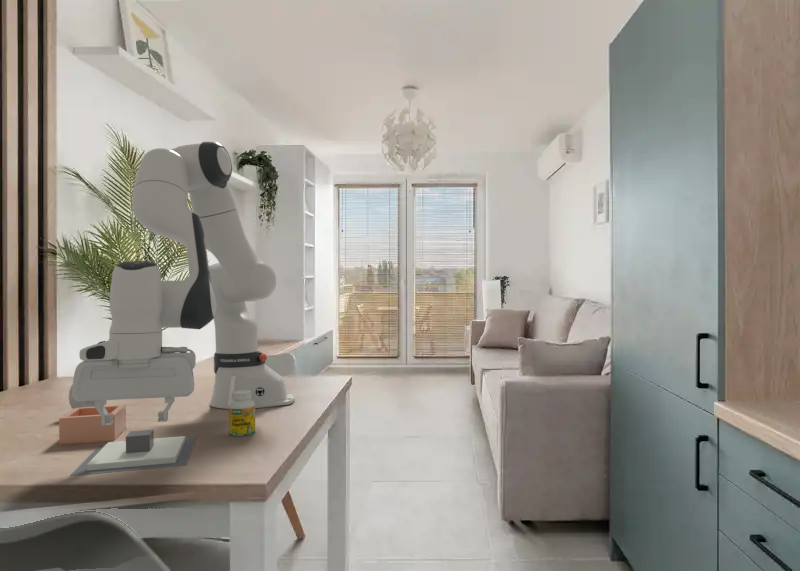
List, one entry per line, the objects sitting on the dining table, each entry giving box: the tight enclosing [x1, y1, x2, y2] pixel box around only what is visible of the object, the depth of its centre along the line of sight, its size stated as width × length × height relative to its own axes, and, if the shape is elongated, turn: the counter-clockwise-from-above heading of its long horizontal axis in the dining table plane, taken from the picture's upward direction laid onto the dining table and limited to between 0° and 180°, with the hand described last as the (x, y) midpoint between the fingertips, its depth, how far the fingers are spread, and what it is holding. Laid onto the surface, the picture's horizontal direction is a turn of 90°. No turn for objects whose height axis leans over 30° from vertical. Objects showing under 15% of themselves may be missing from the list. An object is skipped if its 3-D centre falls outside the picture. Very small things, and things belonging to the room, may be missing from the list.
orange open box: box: [58, 404, 127, 446], centre depth 112 cm, size 10×10×6 cm
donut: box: [68, 383, 95, 410], centre depth 137 cm, size 10×3×10 cm, turn 168°
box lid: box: [87, 429, 186, 471], centre depth 99 cm, size 14×14×4 cm
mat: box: [69, 437, 198, 477], centre depth 99 cm, size 18×18×1 cm
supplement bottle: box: [228, 390, 256, 437], centre depth 113 cm, size 5×5×10 cm
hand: (135, 422), depth 99 cm, fingers open, 8 cm apart
